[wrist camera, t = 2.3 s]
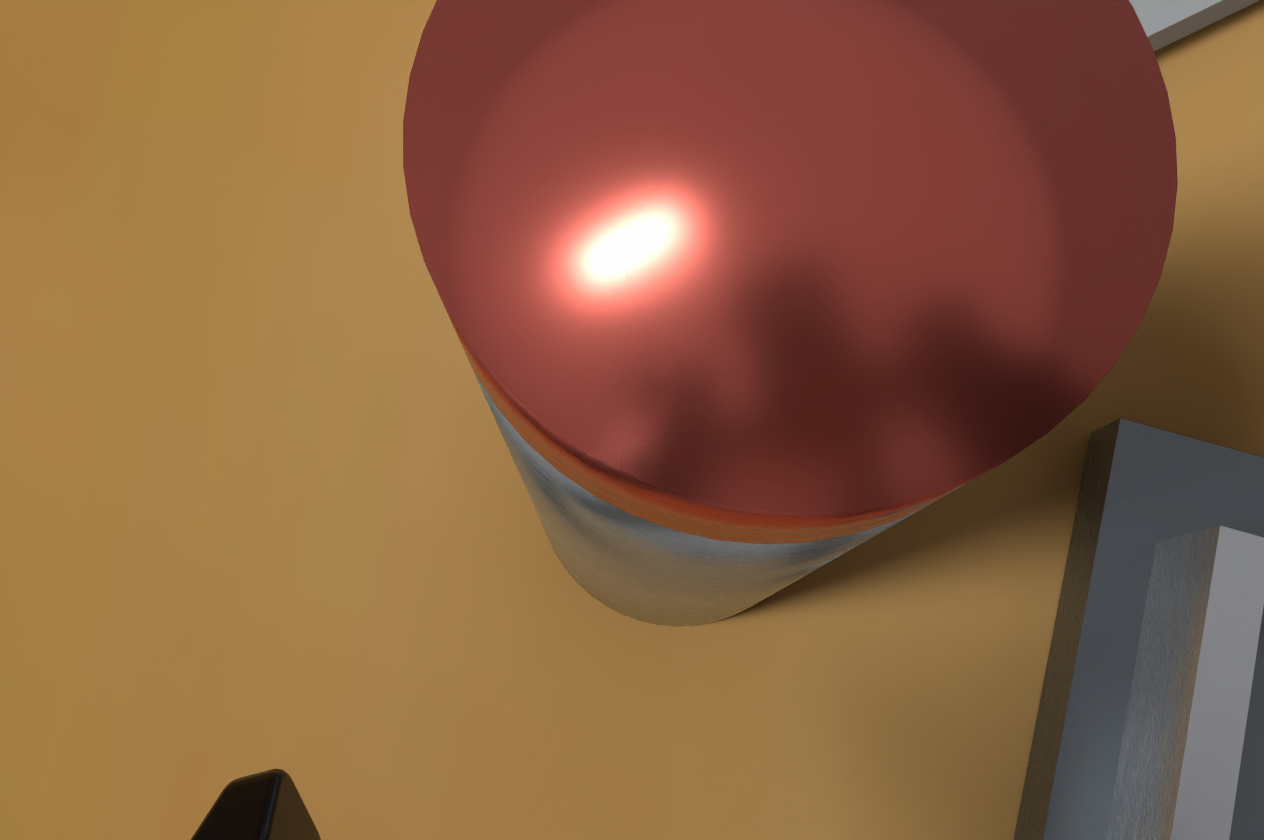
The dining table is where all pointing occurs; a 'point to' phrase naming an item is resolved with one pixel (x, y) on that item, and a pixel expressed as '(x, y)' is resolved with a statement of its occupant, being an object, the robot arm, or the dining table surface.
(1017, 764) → the dining table surface
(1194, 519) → the fitting board
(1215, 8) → the adjustable wrench
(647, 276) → the silver and red cylinder
